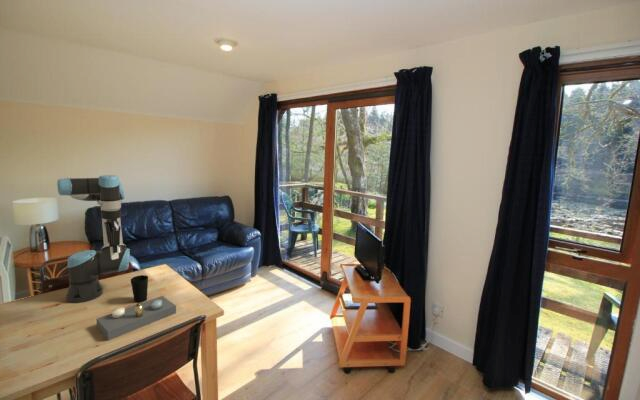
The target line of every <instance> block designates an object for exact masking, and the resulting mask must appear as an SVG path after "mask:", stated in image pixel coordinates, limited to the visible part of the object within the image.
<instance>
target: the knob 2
mask: <svg viewBox="0 0 640 400" xmlns="http://www.w3.org/2000/svg"><path fill="white" fill-rule="evenodd" d="M150 307H151V309H153V310H157V309H160V308H161V307H162V300H154V301H152V302H151V303H150Z"/></svg>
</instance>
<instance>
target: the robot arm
mask: <svg viewBox="0 0 640 400" xmlns="http://www.w3.org/2000/svg"><path fill="white" fill-rule="evenodd" d="M56 184H57V192H58V195H60V196H70V197H71V198H72V199H74V200H78V201H84V202H96V203H97V205H99V206H100V216H101V223H102V227H101V228H102V237H103V246H102V247H101V248H100V252H97V251H96V250H94V249H91V250H90V249H87V250H82V251H78V252H76V253H73V254H72V255H70V256H69V257H68V258H67V270H68V279H69V280H68V281H69V282H68V283H69V285H68V289H67V293H66V297H65V298H66V301H67V303H73V304H74V303H76V304H77V303H78V304H79V303H85V302H90V301H92V300H94V299H95V300H96V299H97V298H99V297H101V296H102V295H103V294H104V287H103V286H102V284H101V282H100V280H99V276H100V275H106V274H112V273H113V274H114V273H117V272H118V273H119V272H122V271H127V270H128V269H129V268H130V267H129V266H130V257H131V255H130V253H131V252H130V251H131V249H130V248H128V247H127V245H126V244H125V243H123V241H124V239H123V231H122V224H121V223H122V222H121V218H122V209H121V208H122V202H123V201H122V200H125V193H124V188H123V185H122V182H121V181H120V179H119V176H118V175H115V174H103V175H99V176H98V177H87V178H85V177H83V178H82V177H78V178H75V177H73V178H69V177H67V178H58V180H57V183H56Z"/></svg>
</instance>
